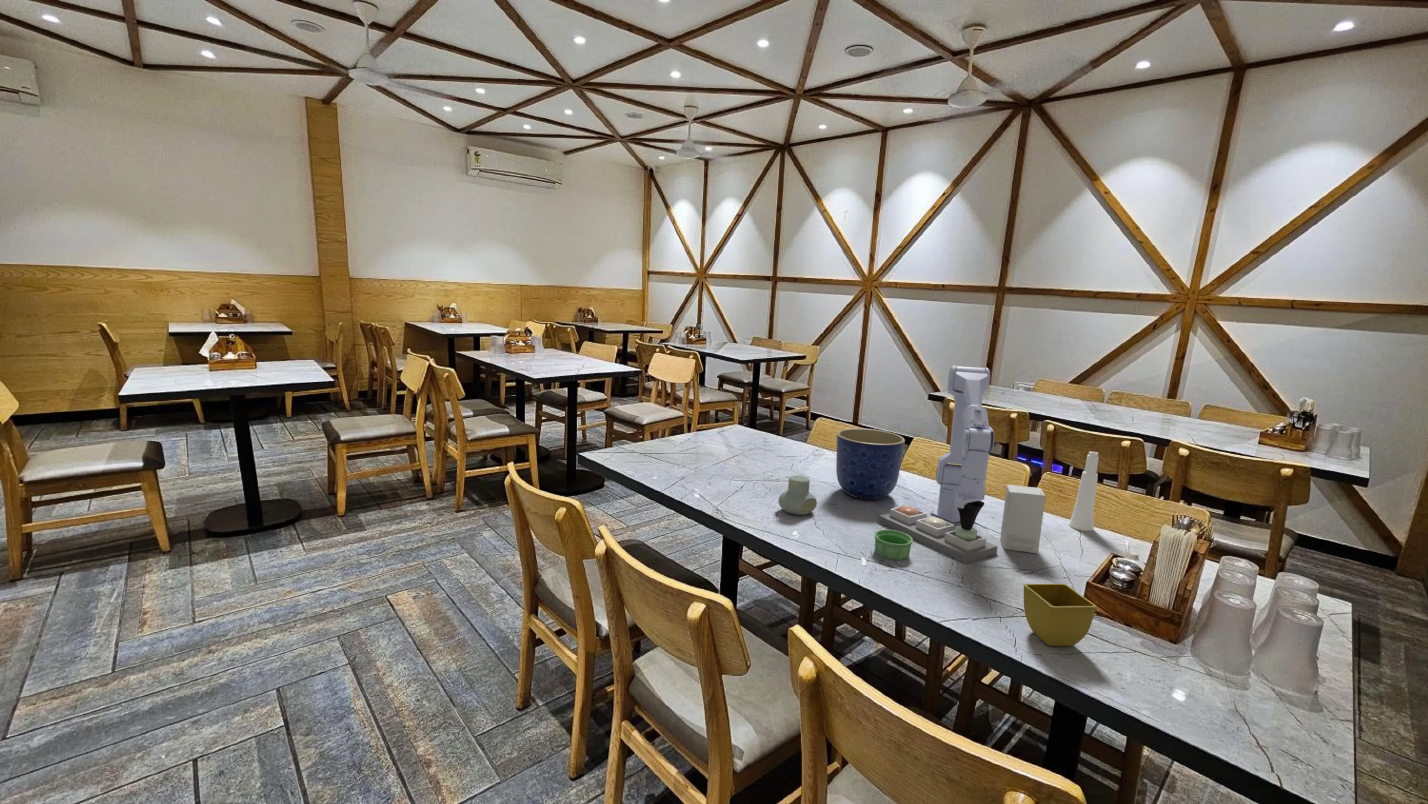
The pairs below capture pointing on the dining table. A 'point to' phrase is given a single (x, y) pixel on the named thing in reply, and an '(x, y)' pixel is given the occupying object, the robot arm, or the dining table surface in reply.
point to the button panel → (938, 536)
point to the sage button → (965, 533)
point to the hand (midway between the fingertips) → (966, 528)
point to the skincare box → (1022, 518)
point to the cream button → (935, 522)
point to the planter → (868, 462)
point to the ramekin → (892, 544)
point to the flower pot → (1057, 613)
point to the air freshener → (797, 497)
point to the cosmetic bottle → (1086, 496)
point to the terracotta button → (908, 510)
